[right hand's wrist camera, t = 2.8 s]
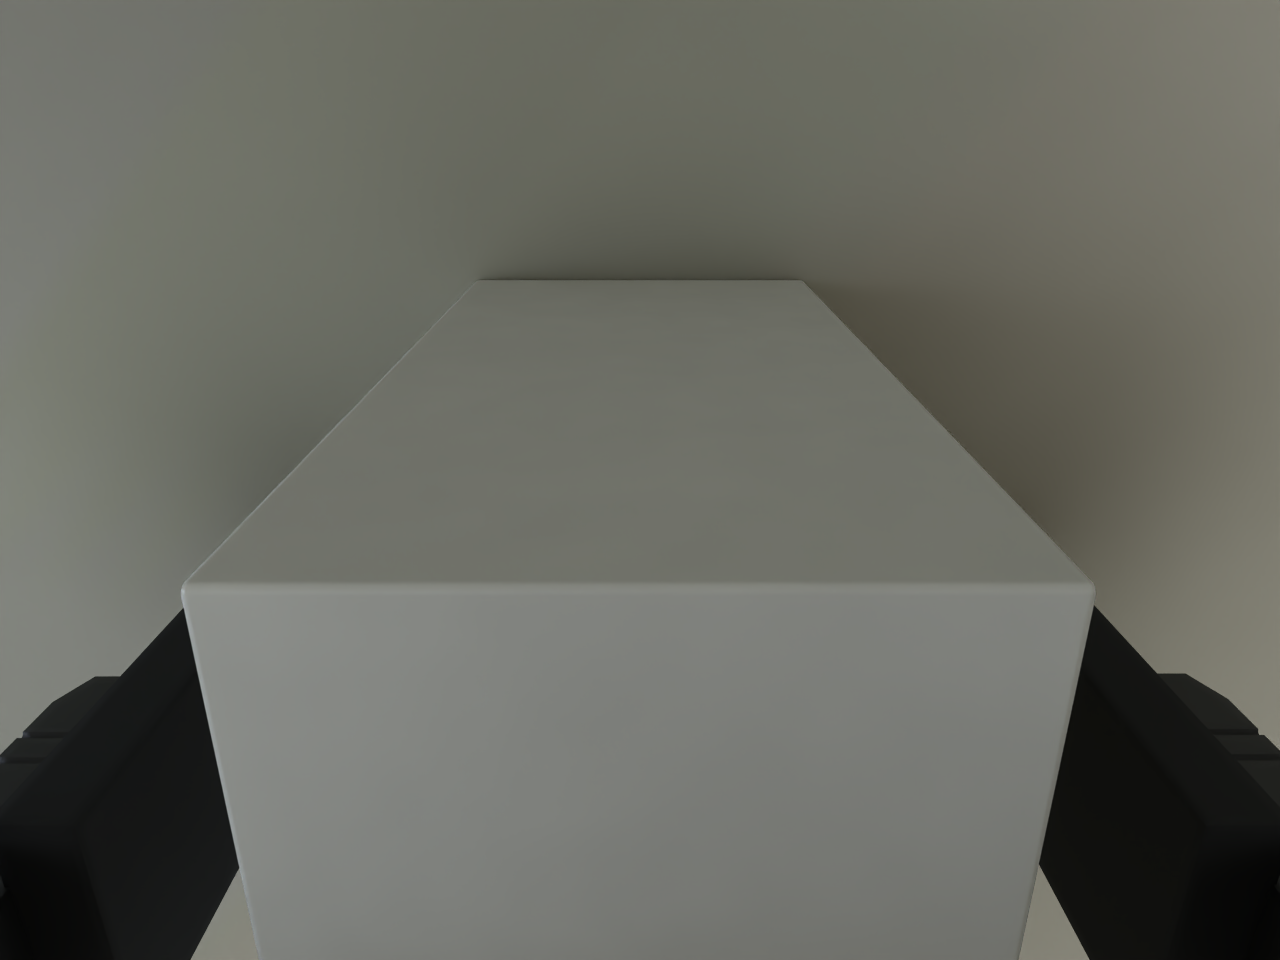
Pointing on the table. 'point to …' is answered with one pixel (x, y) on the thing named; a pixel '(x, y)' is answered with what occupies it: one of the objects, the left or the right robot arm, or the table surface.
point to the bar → (638, 650)
